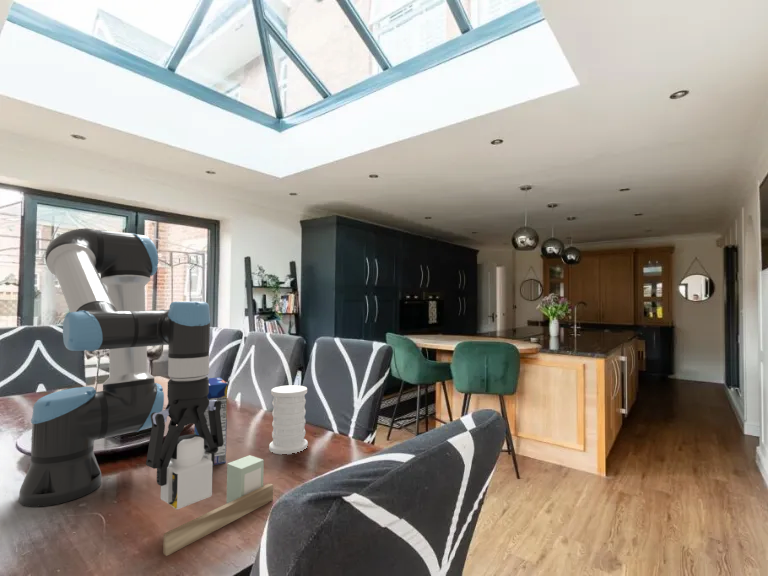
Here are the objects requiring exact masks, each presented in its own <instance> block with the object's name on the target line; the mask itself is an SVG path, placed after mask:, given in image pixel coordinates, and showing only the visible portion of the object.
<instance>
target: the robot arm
mask: <svg viewBox="0 0 768 576" xmlns="http://www.w3.org/2000/svg"><path fill="white" fill-rule="evenodd" d="M45 263H46V266H47V268H48V270H49V272H50V273H51V274H53V275H54V276H55V277H56V278H57V281H58V284H59V287H60V289H61V291H62V295H63V296H64V299H65V302H66V305H67V308H68V311H69V312H68V313H67V314H66V315H65V316H64V319H63V324H62V337H63V345H64V347H65V348H66V349H67V350H68V351H70V352H71V351H72V352H75V351H76V352H79V351H80V352H81V351H85V352H86V351H88V352H95V351H102V350H108V353H109V354H108V355H109V356H108V357H109V359H108V361H109V363H108V364H109V375H108V376H109V377H108V378H107V379H106V380H105V381H103V383H102V390H101V391H97V390H96V389H95V387H93V386H80V387H71V388H67V389H63V390H59V391H54V392H52V393H48V394H46V395H44V396H42V397H40V398H38V399H37V401H35V402H34V404H33V407H32V416H31V419H30V423H31V446H30V447H31V448H30V449H31V450H30V465H29V468H28V469H27V472H26V475H25V476H24V479H23V482H22V484H21V487H20V489H19V497H18V499H19V500H18V502H19V504H21V505H23V506H25V507H31V508H32V507H33V508H34V507H48V506H53V505H59V504H63V503H66V502H71V501H73V500H77V499H79V498H82V497H84V496H86V495H89V494H91V493H92V492H94V491H95V490H96V489H98V488H99V487H100V486H101V485H102V471H101V469H100V466H99V463H98V461H97V457H96V456H95V452H94V447H95V446H94V443H95V441H97V440H100V439H101V440H102V439H106V438H111V437H115V436H121V435H125V434H129V433H138V432H140V431H143V430H147V429H150V428H151V430H150V435H149V436H150V437H149V442H148V450H147V455H146V461H145V465H146V466H147V467H150V468H151V469H156V484H157V485H159V486H160V500H161V501H162V502H165V503H167V504H168V503H170V502H172V472H173V467H171V466H169V463H170V460H171V457H172V455H173V452H174V449H175V446H176V444H177V441H178V438H179V437H180V436H181V433H182V432H183V431H184V430H185V427H187V426H189V425H190V424H193V425H194V426H195V427H196V429H197V432H198V434H199V435H200V436H202V437H203V438H204V449H205V451H204V456H203V457H205V458H207V459H209V460H211V461H212V462H213V463H212V468H214V466H215V465H214V455H215V453H217V451H218V447H219V446H220V447H221V446H223V443H224V442H223V433H222V425H221V416H220V409H221V404H222V403H221V401H218V400H214V399H212V400H209V399H208V397H207V395H208V393H209V378H210V377H208V376H209V374H210V337H211V336H210V334H211V333H210V331H211V320H212V319H211V315H210V313H211V312H210V305H209V303H208V302H206V301H173V302H171V303H170V304H169V309H159V310H146V293H145V292H146V291H145V287H146V286H147V284H148V283H149V282H151V276H152V277H153V276H154V275H156V273H157V271H158V268H159V267H158V265H159V257H158V250H157V247H156V244H155V243H154V241H153V240H152V239H151V238H150V237H149V236H147V235H143V234H136V233H134V232H121V231H120V232H119V231H112V230H105V229H95V228H76V229H71V230H68V231H66V232H63V233H62V234H60V235H58V236H57V237H55V238H54V239H53V240H52V241H50V243H49V245H48V246H47V248H46V250H45ZM106 287H107V288H106ZM154 346H155V347H156V346H168V350H167V351H168V353H167V355H168V356H167V358H168V359H167V360H168V364H167V377H169V378H170V379H169V380H168V381H167V395H166V396H167V405H166V407H165V409H164V404H165V394H164V391H163V390H164V388H163V386H162V385H161V384H160V383H158V382H155V376H154V375H152V374H151V373H150V372H149V370H148V347H154ZM207 408H208V414H209V423H210V431H211V434H210V431H209V429H208V426H207V420H206V418H205V415H204V412H205V411H206V409H207ZM168 417H169V418H170V420H169V423H168V426H167V431H166V430H165V429H166V423H167V421H168V420H167V419H168ZM165 431H166V434H165ZM165 435H166V436H165ZM164 436H165V438H164Z"/></svg>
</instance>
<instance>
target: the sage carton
mask: <svg viewBox="0 0 768 576" xmlns="http://www.w3.org/2000/svg"><path fill="white" fill-rule="evenodd" d="M264 464H265V460H264V459H263V458H260V457H257V456H254V455H250V454H249V455H247V456H244V457H241V458H238V459H236V460H233V461H229V462H228V463H227V464H226V465H227V467H226V504H227V503H229V502H231V501H233V500H236V499H238V498H240V497H242V496H244V495H246V494H248V493H250V492H252V491H254V490H257V489H259V488H261V487H263V486H264V471H265V469H264V468H265V467H264Z"/></svg>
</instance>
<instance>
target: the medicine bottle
mask: <svg viewBox="0 0 768 576" xmlns="http://www.w3.org/2000/svg"><path fill="white" fill-rule="evenodd" d="M203 456H204V438H203V437H202V436H200V435H196V434H194V433H193V434H191V433H190V434H184V435H180V436H179V438H178V441H177V444H176V446H175V449H174V452H173V455H172V457H171V460H170V463H169V466H171V467H173V472H172V502H170V503H167V504H168V505H169V506H170V507H172V508H173V509H174V510H180V509H183V508H185V507H188V506H190V505H192V504H196V503H198V502H201V501H203V500H205V499H208V498H210V497H212V496H213V467H212V463H213V462H212V461H211V460H209V459H207V458H205V457H203Z"/></svg>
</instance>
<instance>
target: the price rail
mask: <svg viewBox="0 0 768 576" xmlns="http://www.w3.org/2000/svg"><path fill="white" fill-rule="evenodd" d="M273 500H274V484H272V483H267V484H265V485H263V487H261V488H259V489H257V490H254V491H252V492H250V493H248V494H246V495H244V496H242V497H240V498H238V499H236V500H233V501H231V502H229V503H227V502H226V503H225V504H224V505H221V506H219V507H217V508H215V509H212V510H211V511H208V512H206V513H204V514H202V515H199V516H198V517H196V518H194V519H192V520H190V521H187V522H185V523H183V524H181V525H180V526H176V527H175V528H173V529H171V530H169V531H167V532H164V533H163V542H162V543H163V544H162V545H163V546H162V547H163V549H162V551H163V553H162V554H163V555H164V556H166V557H168V556H170V555H172V554H174V553H175V552H177V551H179V550H181V549H183V548H185V547H187V546H189V545H191V544H193V543H194V542H196V541H199V540H200V539H202V538H204V537H206V536H207V535H210V534H212V533H213V532H215V531H217V530H219V529H221V528H222V527H225V526H227V525H229V524H231V523H232V522H235V521H236V520H238V519H240V518H242V517H244V516H246V515H249V513H252V512H253V511H256V510H257V509H259V508H261V507H262V506H265V505H266V504H269V503H270V502H269V501H271V502H273ZM268 502H269V503H268Z"/></svg>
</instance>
